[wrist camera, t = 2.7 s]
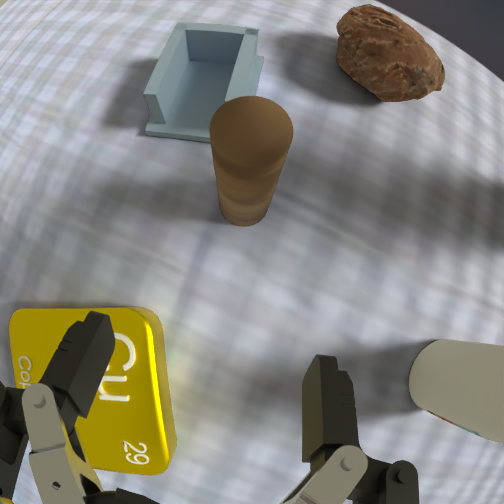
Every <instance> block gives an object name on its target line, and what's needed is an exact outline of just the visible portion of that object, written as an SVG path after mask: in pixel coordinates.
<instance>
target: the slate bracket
mask: <svg viewBox="0 0 504 504" xmlns="http://www.w3.org/2000/svg"><path fill="white" fill-rule="evenodd" d="M258 32H259V29H256V28H248V27H240V26H230V25H219V24H204V23H177V25H176V26H175V28H174V30H173V32H172V34H171V36H170V38H169V40H168V42H167V44H166V46H165V48H164V50H163V52H162V54H161V56H160V58H159V60H158V62H157V64H156V66H155V68H154V70H153V73H152V75H151V77H150V79H149V81H148V84H147V86H146V88H145V91H144V93H143V95H144V97H145V100H146V102H147V105H148V107H149V110H150V112H151V115H150V117H149V120H148V123H147V125H146V128H145V132H146V134H147V136H158V137H168V138H177V139H185V140H193V141H201V142H209V143H211V140H210V132H209V128H210V122H211V119H212V117H213V115H214V113H215V112H216V111H217V109H218V108H219V107H220V106H221V105H223V104H224V103H226V102H228V101H229V100H232V99H234V98H238V97H242V96H256V91H257V87H258V83H259V78H260V74H261V69H262V65H263V59H264V57H262V56H256V52H257V42H258Z"/></svg>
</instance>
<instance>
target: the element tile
mask: <svg viewBox="0 0 504 504" xmlns="http://www.w3.org/2000/svg"><path fill="white" fill-rule="evenodd" d="M90 311H96V312H99V313H103V314H107V315H109V316H110V320H111V324H112V328H113V332H114V335H115V349H114V352H113V355H112V357H111V359H110V362H109V364H108V366H107V369H106V371H105V373H104V376H103V378H102V381H101V383H100V386H99V388H98V391H97V393H96V396H95V398H94V401H93V403H92V406H91V408H90V411H89V414H88V416H87V419H86V418H83V417H80V416H78V417H77V420H76V426H77V429H78V432H79V435H80V438H81V441H82V444H83V447H84V450H85V452H86V455H87V458H88V460H89V463H90V465H91V467H92V468H93V469H99V470H106V471H113V472H120V473H129V474H139V475H151V476H152V475H157V474H161V473H163V472H164V471H165V470H166V469H168V467H169V464H170V462H171V459H172V457H173V454H174V452H175V449H176V446H177V438H176V432H175V426H174V419H173V413H172V406H171V398H170V391H169V383H168V375H167V366H166V356H165V346H164V335H163V328H162V324H161V322H160V320H159V318H158V316H157V315H156V314H155V313H154V312H153V311H151V310H149V309H146V308H143V307H118V308H22V309H19V310H17V311H15V312H14V313H13V315H12V316H11V318H10V323H9V338H10V348H11V356H12V363H13V370H14V376H15V382H16V388H20V389H26V388H27V387H29V386H30V385H32V384H36V383H38V382H39V381H40V379H41V378H42V376H43V374H44V372H45V370H46V368H47V366H48V364H49V362H50V360H51V358H52V356H53V355H54V353H55V351H56V349H58V345H59V344H60V342H61V341H62V338H63V336H64V335H65V333H66V331H67V329H68V328H69V327H70V326H71V325H73V324H74V323H75V322H76V321H77V320H78V321H82V322H83V321H84V320H85V318H86V316H87V314H88V313H89V312H90ZM29 441H30V439H29Z"/></svg>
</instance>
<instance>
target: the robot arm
mask: <svg viewBox="0 0 504 504" xmlns="http://www.w3.org/2000/svg"><path fill="white" fill-rule="evenodd" d="M114 349H115V335H114V332H113V328H112V324H111V320H110V316H109V315H107V314H103V313H99V312H96V311H90V312H89V313H88V314H87V316H86V318H85V320H84V321H83V322H82V321H78V320H77V321H76V322H75V323H74V324H73V325H71V326H70V327H69V328H68V329H67V331H66V333H65V335H64V336H63V338H62V341H61V342H60V344H59V345H58V349H56V351H55V353H54V355H53V356H52V358H51V360H50V362H49V364H48V366H47V368H46V370H45V372H44V374H43V376H42V378H41V379H40V381H39V382H38V383H36V384H32V385H30V386H29V387H27V388H26V389H20V388H10V387H5V386H4V385H3V384H2V382H1V381H0V504H14V503H13V502H12V497H13V493H14V489H15V485H16V481H17V477H18V474H19V470H20V466H21V463H22V459H23V456H24V453H25V450H26V446H27V443H28V440H29V439H30V443H31V448H32V451H31V452H30V453H29V462H30V466H31V469H32V472H33V476H34V479H35V482H36V485H37V488H38V491H39V494H40V497H41V500H42V502H43V504H159V503H157V502H155V501H153V500H151V499H149V498H147V497H146V496H143V495H139V494H136V493H133V492H129V491H126V490H123V489H120V488H117V490H116V491H104V490H103V488H102V486H101V483H100V481H99V479H98V477H97V475H96V473H95V471H94V470H93V468H92V467H91V465H90V463H89V460H88V458H87V455H86V452H85V450H84V447H83V444H82V441H81V438H80V435H79V432H78V429H77V426H76V420H77V417H78V416H80V417H83V418H86V419H87V416H88V414H89V411H90V408H91V406H92V403H93V401H94V398H95V396H96V393H97V391H98V388H99V386H100V383H101V381H102V378H103V376H104V373H105V371H106V369H107V366H108V364H109V362H110V359H111V357H112V355H113V352H114ZM302 462H306V463H310V471H309V472H308V474H307V475H306V476H305V477H304V478H303V479H302V480H301V481H300V483H299V484H298V485H297V486H296V487H295V488H294V489H293V490H292V491H291V492H290V493H289V494H288V496H287V497H286V498H285V499H284V500H283V501H282V502H281V503H280V504H343V502H344V501H345V500H346V499H348V500H352V501H353V504H419V486H418V473H417V470H416V468H415V467H414V465H413V464H412V463H410V462H408V461H404V460H401V461H397V462H395V463H393V464H390V463H386V462H382V461H379V460H375V459H372V458H370V457H369V456H367V455H366V454H365V453H364V452H363V451H362V449H361V447H360V444H359V439H358V428H357V418H356V408H355V399H354V391H353V383H352V381H351V379H350V377H349V375H348V374H347V372H346V371H338V364H337V358H336V357H335V356H326V355H316V356H315V357H314V359H313V361H312V363H311V365H310V366H309V368H308V370H307V372H306V374H305V376H304V379H303V385H302ZM59 488H60V489H59Z"/></svg>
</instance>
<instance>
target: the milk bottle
mask: <svg viewBox="0 0 504 504" xmlns="http://www.w3.org/2000/svg"><path fill="white" fill-rule="evenodd" d="M409 390H410V394H411V397H412V399H413V401H414V403H415V404H416V405H417V406H419V407H420V408H422V409H423V410H425V411H427V412H429V413H431V414H433V415H435V416H437V417H439V418H441V419H443V420H445V421H447V422H449V423H451V424H453V425H456V426H458V427H460V428H462V429H464V430H467V431H469V432H471V433H473V434H475V435H478V436H481V437H483V438H486V439H488V440H492V441H497V442H504V346H502V345H493V344H485V343H476V342H467V341H458V340H448V339H441V340H437V341H435V342H433V343H431V344H429V345H428V346H427V347H425V348H424V349H423V350H422V351H421V352H420V353H419V355H418V356H417V358H416V359H415V361H414V363H413V365H412V368H411V371H410V376H409Z"/></svg>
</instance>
